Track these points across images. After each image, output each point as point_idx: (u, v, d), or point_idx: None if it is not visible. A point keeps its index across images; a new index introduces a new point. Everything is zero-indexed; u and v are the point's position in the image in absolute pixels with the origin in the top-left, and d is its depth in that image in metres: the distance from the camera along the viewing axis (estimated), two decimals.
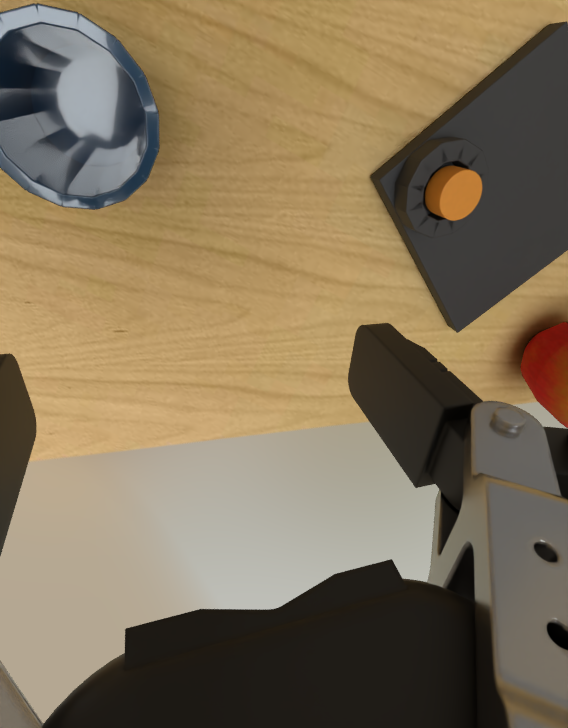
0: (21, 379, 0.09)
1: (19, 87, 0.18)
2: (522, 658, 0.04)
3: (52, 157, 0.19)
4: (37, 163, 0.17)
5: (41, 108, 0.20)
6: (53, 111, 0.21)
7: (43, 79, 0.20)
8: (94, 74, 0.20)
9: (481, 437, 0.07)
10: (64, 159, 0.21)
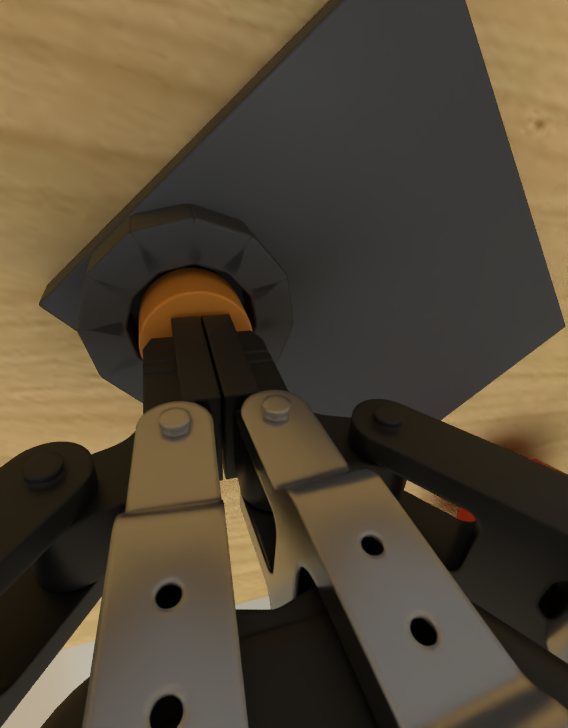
0: None
1: None
2: (414, 691, 0.03)
3: None
4: None
5: None
6: None
7: None
8: None
9: (263, 440, 0.06)
10: None
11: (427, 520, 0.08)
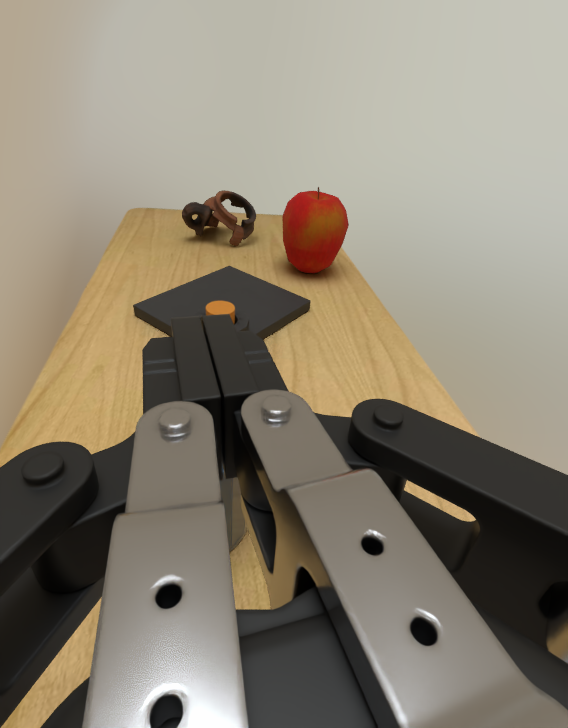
0: None
1: None
2: (414, 691, 0.03)
3: None
4: None
5: None
6: None
7: None
8: None
9: (263, 440, 0.06)
10: None
11: (427, 520, 0.08)
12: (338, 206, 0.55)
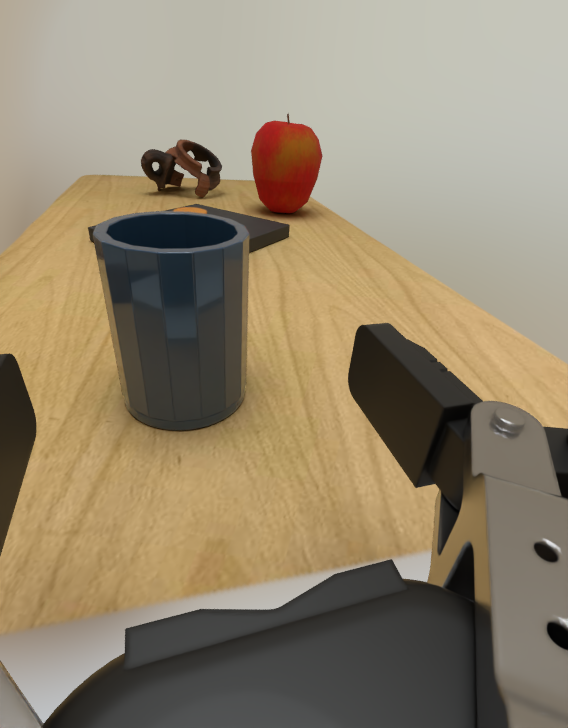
0: (21, 379, 0.09)
1: None
2: (522, 658, 0.04)
3: None
4: None
5: None
6: None
7: None
8: None
9: (481, 437, 0.07)
10: None
11: None
12: (311, 132, 0.51)
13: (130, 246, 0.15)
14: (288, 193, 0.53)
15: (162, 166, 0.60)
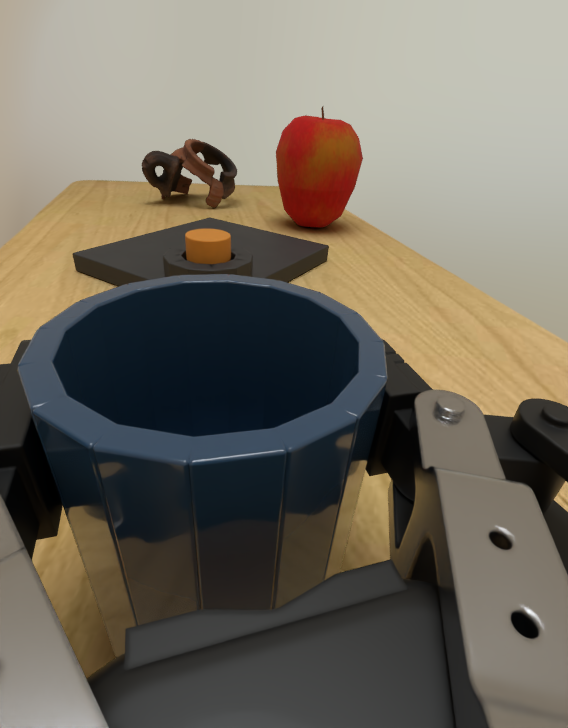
0: None
1: None
2: (493, 656, 0.04)
3: None
4: None
5: None
6: None
7: None
8: None
9: (427, 428, 0.07)
10: None
11: None
12: (351, 129, 0.41)
13: (108, 432, 0.05)
14: (322, 204, 0.43)
15: (167, 171, 0.50)
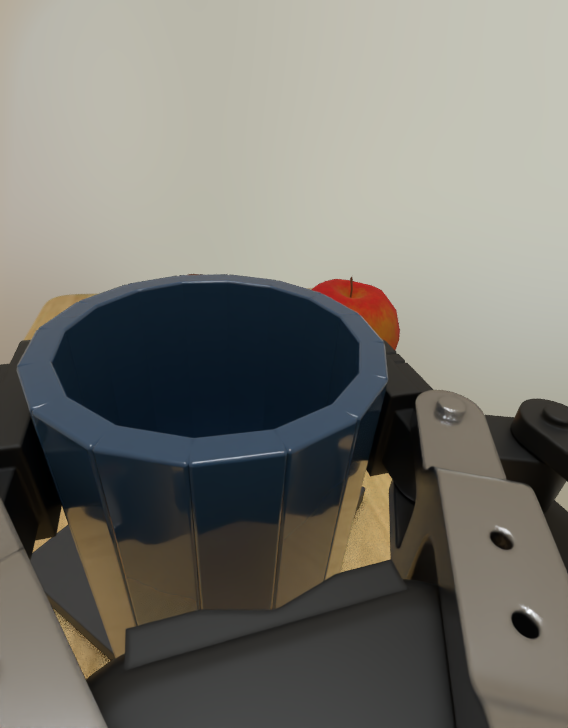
0: None
1: None
2: (494, 656, 0.04)
3: None
4: None
5: None
6: None
7: None
8: None
9: (428, 428, 0.07)
10: None
11: None
12: (388, 306, 0.33)
13: (108, 433, 0.05)
14: None
15: None
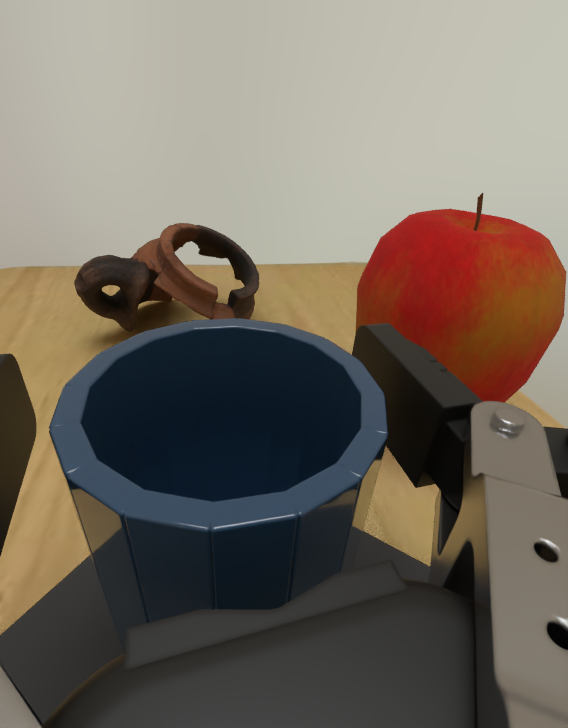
0: (21, 379, 0.09)
1: None
2: (522, 658, 0.04)
3: None
4: None
5: None
6: None
7: None
8: None
9: (481, 437, 0.07)
10: None
11: None
12: (553, 250, 0.17)
13: (137, 499, 0.06)
14: None
15: (126, 292, 0.26)
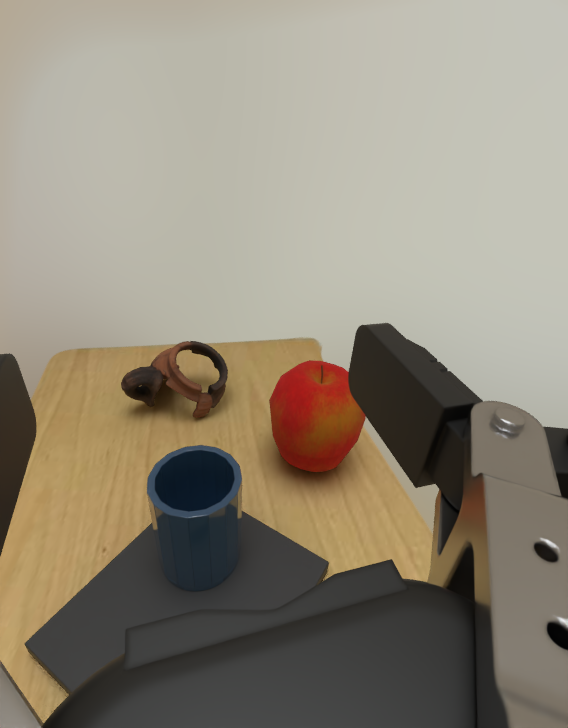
0: (21, 379, 0.09)
1: None
2: (522, 658, 0.04)
3: None
4: None
5: None
6: None
7: None
8: None
9: (481, 437, 0.07)
10: None
11: None
12: None
13: (171, 511, 0.25)
14: (321, 464, 0.38)
15: (149, 388, 0.45)
